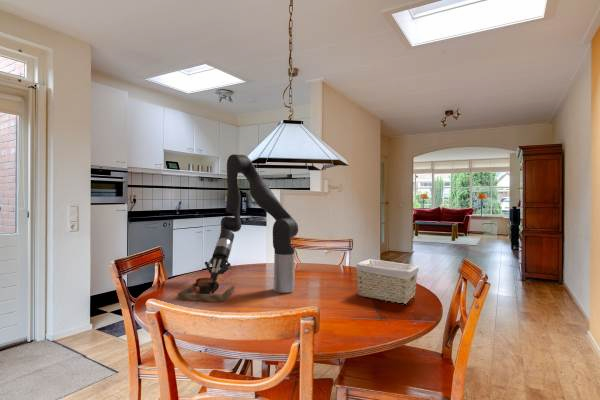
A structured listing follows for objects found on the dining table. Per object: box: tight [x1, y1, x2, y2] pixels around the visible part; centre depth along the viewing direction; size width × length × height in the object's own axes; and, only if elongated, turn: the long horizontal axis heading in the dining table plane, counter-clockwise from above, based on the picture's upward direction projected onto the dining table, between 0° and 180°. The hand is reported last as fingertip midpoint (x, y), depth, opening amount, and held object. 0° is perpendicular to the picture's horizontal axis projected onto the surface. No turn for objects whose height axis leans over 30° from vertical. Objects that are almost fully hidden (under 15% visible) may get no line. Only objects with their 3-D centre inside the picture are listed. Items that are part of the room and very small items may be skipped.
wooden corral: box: [177, 283, 235, 303], centre depth 147 cm, size 19×16×2 cm
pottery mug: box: [193, 277, 220, 295], centre depth 149 cm, size 12×10×8 cm
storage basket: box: [355, 258, 420, 305], centre depth 151 cm, size 24×16×15 cm
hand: (212, 281), depth 154 cm, fingers closed
